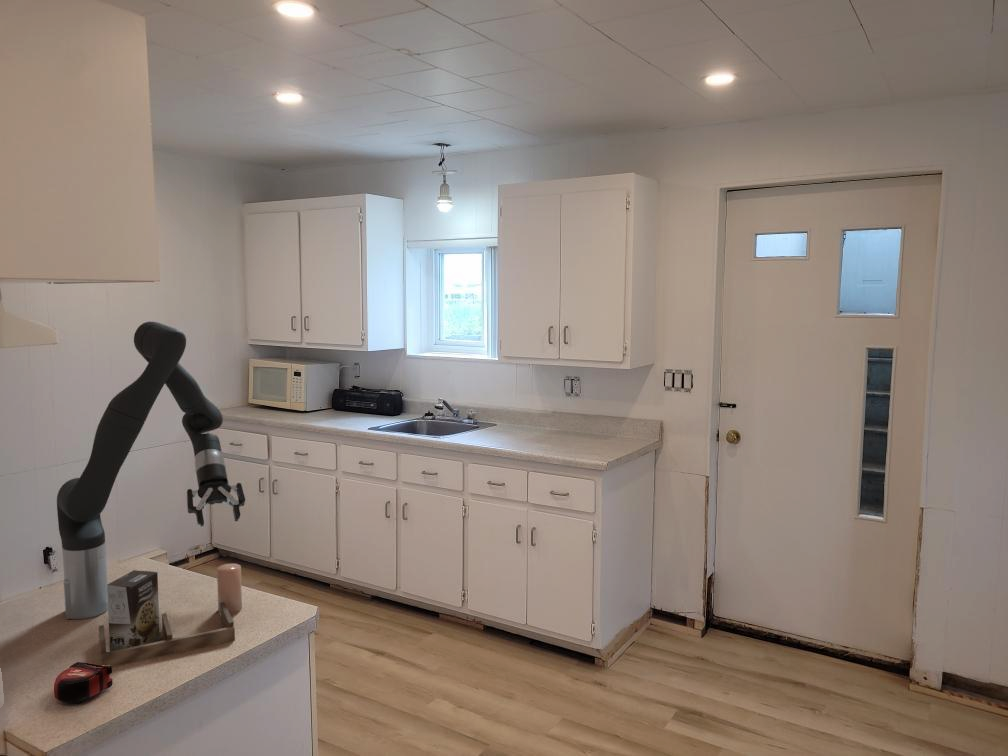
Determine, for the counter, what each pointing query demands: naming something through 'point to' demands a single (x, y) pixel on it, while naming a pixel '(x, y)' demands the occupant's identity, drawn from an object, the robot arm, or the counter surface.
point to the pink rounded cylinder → (229, 587)
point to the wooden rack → (168, 642)
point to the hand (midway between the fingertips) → (219, 522)
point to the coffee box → (133, 610)
